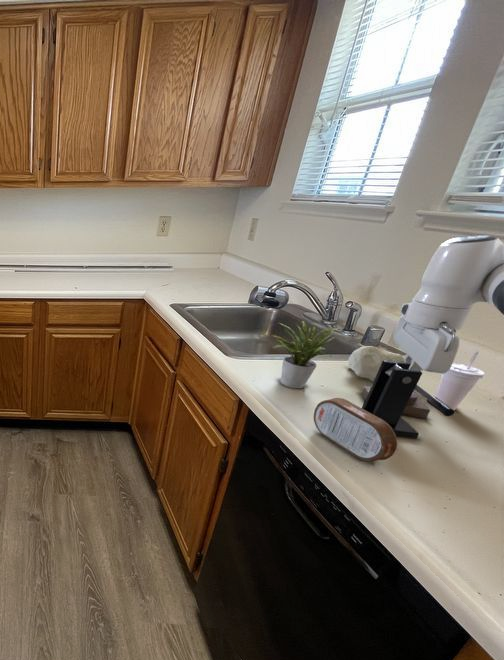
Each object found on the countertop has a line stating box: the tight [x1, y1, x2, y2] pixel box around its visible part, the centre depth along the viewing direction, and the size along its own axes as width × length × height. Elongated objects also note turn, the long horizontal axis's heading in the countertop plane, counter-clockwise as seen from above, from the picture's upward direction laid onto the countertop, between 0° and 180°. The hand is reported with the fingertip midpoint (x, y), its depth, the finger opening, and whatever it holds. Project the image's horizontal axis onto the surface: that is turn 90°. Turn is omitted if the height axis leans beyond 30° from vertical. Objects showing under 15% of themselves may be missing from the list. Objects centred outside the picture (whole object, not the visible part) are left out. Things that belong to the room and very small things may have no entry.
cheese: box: [347, 345, 424, 383], centre depth 108 cm, size 15×7×15 cm
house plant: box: [270, 320, 340, 389], centre depth 104 cm, size 14×14×16 cm
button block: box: [360, 385, 431, 419], centre depth 96 cm, size 10×8×4 cm
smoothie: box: [435, 350, 485, 411], centre depth 94 cm, size 6×6×14 cm
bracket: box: [361, 360, 423, 439], centre depth 86 cm, size 11×8×14 cm
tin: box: [313, 397, 398, 462], centre depth 80 cm, size 15×3×8 cm, turn 10°
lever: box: [385, 364, 455, 417], centre depth 84 cm, size 13×6×2 cm
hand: (408, 375), depth 93 cm, fingers closed
